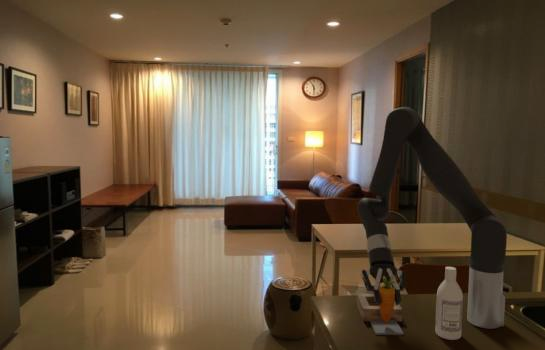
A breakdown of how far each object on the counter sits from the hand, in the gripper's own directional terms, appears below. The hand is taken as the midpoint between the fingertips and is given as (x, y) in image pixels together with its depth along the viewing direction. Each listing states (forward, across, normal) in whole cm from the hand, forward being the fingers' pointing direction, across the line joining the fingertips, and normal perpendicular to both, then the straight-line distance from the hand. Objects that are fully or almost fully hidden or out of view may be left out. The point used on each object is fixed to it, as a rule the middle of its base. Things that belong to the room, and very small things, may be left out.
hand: (388, 303), depth 120 cm
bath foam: (+7, +17, +5) cm, 19 cm away
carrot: (+4, 0, +6) cm, 8 cm away
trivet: (+5, 0, +7) cm, 9 cm away
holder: (-3, 0, +15) cm, 15 cm away
